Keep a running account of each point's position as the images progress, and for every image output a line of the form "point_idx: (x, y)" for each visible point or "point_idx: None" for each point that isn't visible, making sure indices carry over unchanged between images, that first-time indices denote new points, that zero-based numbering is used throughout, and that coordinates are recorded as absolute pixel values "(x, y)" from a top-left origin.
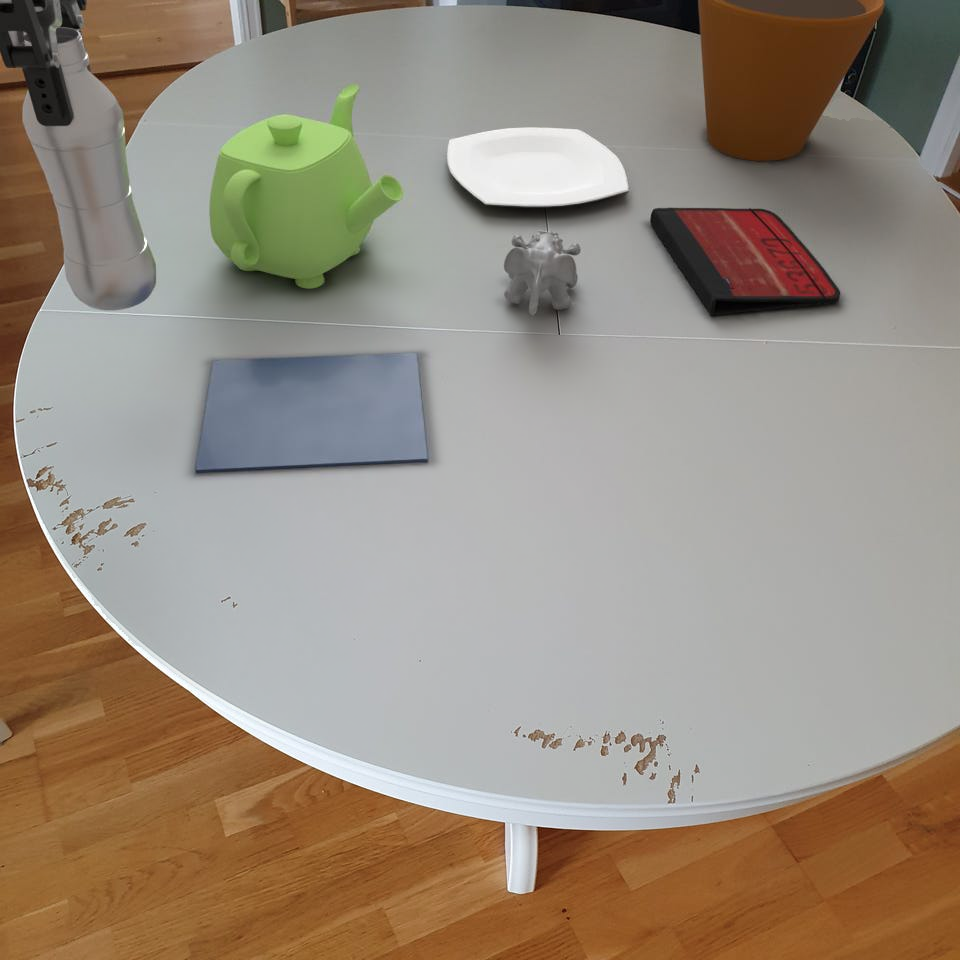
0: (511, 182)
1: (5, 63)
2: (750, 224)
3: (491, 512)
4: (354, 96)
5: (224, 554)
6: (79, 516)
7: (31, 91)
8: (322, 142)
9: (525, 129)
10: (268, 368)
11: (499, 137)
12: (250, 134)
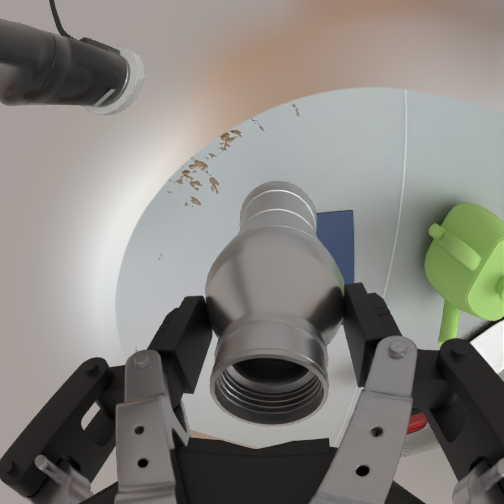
0: (485, 346)
1: (82, 365)
2: (413, 426)
3: None
4: None
5: (186, 248)
6: (201, 167)
7: (155, 336)
8: (493, 307)
9: None
10: (343, 246)
11: None
12: None
